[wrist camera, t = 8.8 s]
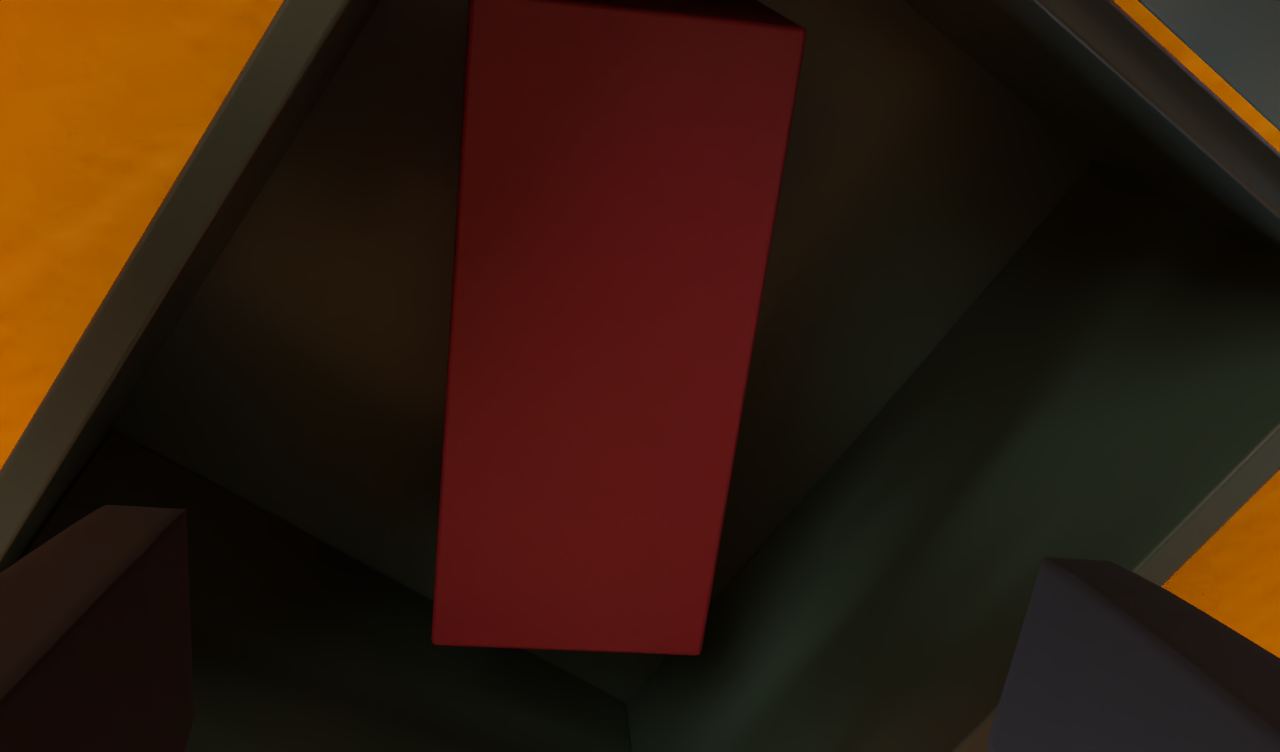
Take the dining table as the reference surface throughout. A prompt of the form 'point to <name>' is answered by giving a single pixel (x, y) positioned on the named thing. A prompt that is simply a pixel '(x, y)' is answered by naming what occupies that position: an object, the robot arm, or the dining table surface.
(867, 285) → the carton
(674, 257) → the red rectangular block
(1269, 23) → the carton flap
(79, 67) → the dining table surface
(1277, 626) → the dining table surface
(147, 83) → the dining table surface
